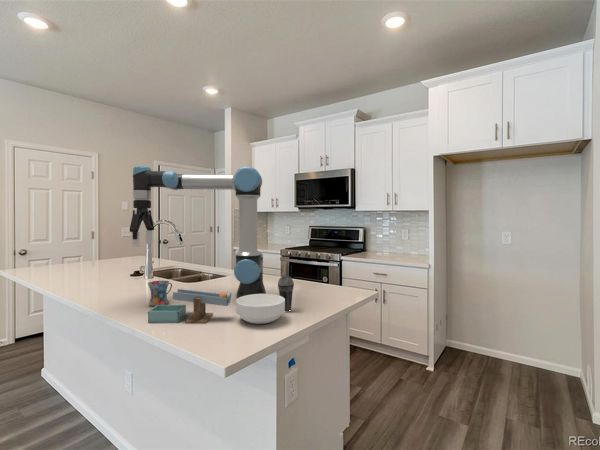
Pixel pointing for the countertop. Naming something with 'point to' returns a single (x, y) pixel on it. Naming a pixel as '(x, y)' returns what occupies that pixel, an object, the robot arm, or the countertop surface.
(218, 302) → the blue-grey ramp
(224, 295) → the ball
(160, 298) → the mug
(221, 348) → the countertop surface
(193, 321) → the fulcrum
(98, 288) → the countertop surface
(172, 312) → the tray
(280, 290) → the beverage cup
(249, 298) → the bowl
